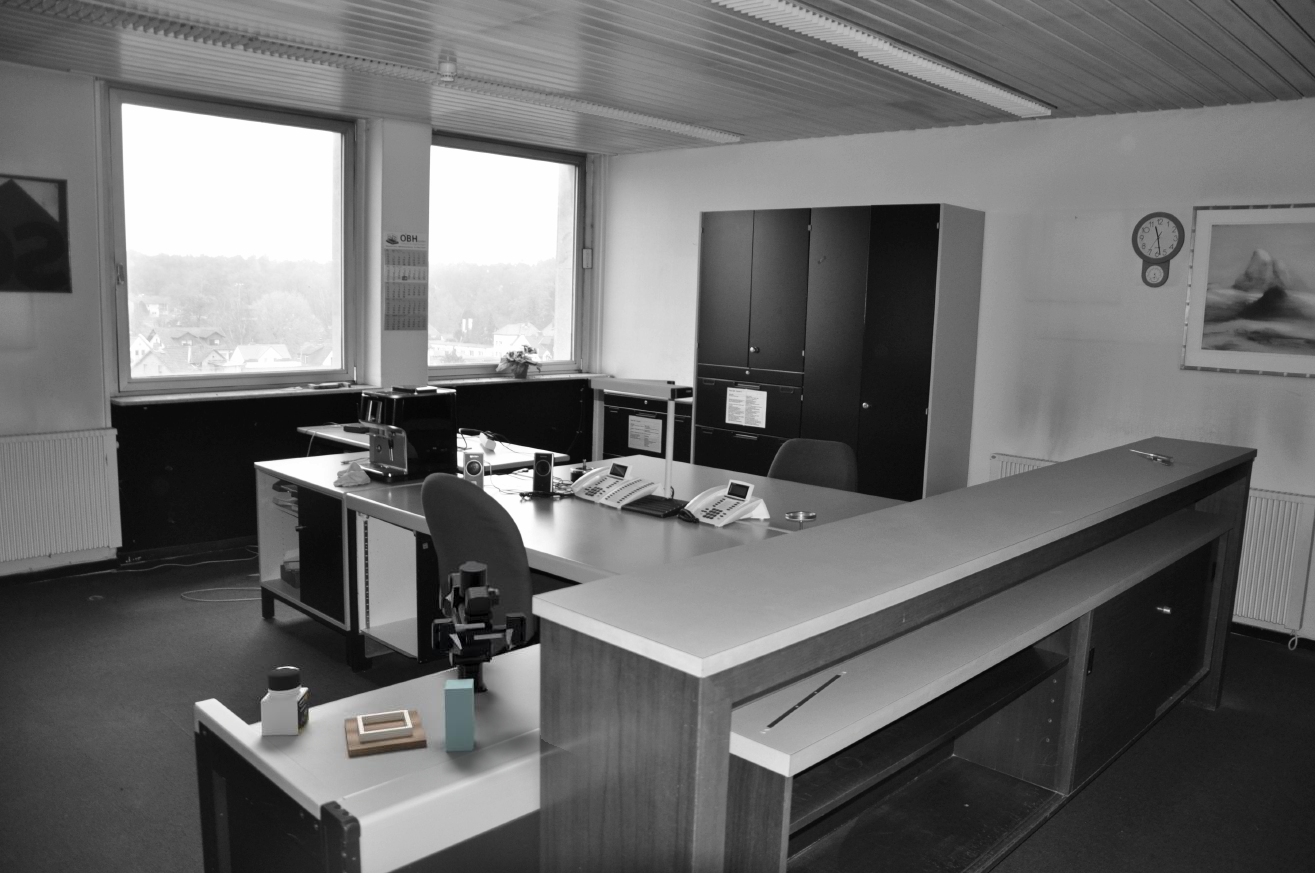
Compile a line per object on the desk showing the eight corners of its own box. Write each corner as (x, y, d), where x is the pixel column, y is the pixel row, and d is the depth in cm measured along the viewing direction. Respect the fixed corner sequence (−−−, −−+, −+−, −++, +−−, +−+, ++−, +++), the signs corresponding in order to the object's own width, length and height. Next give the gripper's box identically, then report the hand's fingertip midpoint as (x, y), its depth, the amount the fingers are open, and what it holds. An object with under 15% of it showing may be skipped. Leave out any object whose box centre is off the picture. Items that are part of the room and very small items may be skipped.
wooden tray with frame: (344, 724, 190) (344, 711, 190) (416, 715, 195) (416, 702, 195) (349, 756, 176) (348, 742, 175) (426, 745, 180) (426, 731, 180)
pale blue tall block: (447, 740, 183) (446, 679, 182) (474, 739, 184) (473, 678, 182) (445, 751, 178) (444, 688, 177) (472, 749, 179) (472, 687, 178)
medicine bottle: (299, 735, 185) (297, 675, 184) (261, 736, 185) (259, 675, 184) (309, 721, 192) (307, 663, 191) (273, 722, 192) (271, 663, 191)
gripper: (429, 584, 196) (436, 615, 181) (519, 577, 201) (533, 607, 187) (429, 634, 198) (436, 668, 184) (518, 626, 204) (532, 659, 190)
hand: (485, 649), depth 186 cm, fingers open, 9 cm apart
